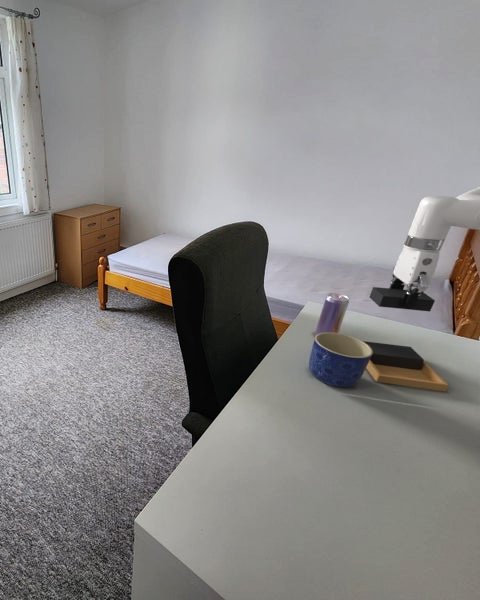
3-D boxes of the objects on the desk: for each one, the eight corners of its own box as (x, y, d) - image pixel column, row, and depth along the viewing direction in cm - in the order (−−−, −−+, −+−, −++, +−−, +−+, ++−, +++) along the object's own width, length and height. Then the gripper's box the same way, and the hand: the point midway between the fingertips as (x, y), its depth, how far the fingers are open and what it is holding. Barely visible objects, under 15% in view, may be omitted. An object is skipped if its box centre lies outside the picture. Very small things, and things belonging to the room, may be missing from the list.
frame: (409, 356, 101) (412, 349, 100) (444, 393, 87) (449, 385, 86) (351, 349, 106) (353, 342, 104) (375, 382, 91) (379, 375, 90)
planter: (354, 371, 96) (367, 338, 91) (363, 398, 86) (378, 362, 81) (303, 360, 101) (312, 328, 96) (306, 384, 91) (317, 350, 87)
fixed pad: (406, 356, 101) (410, 346, 99) (419, 370, 95) (424, 360, 93) (358, 350, 104) (362, 340, 103) (368, 363, 98) (372, 353, 97)
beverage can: (318, 341, 110) (331, 300, 104) (311, 332, 115) (323, 292, 109) (338, 343, 109) (353, 301, 102) (331, 334, 114) (344, 293, 108)
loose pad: (416, 301, 102) (421, 290, 101) (430, 311, 96) (435, 300, 95) (369, 297, 106) (373, 286, 104) (379, 306, 100) (383, 295, 98)
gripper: (461, 253, 85) (432, 316, 92) (422, 236, 99) (400, 291, 107) (423, 251, 87) (398, 312, 94) (391, 234, 102) (371, 289, 109)
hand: (399, 301), depth 101 cm, fingers closed on loose pad, 7 cm apart
